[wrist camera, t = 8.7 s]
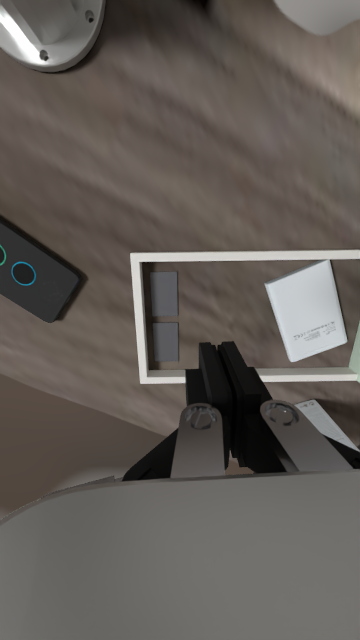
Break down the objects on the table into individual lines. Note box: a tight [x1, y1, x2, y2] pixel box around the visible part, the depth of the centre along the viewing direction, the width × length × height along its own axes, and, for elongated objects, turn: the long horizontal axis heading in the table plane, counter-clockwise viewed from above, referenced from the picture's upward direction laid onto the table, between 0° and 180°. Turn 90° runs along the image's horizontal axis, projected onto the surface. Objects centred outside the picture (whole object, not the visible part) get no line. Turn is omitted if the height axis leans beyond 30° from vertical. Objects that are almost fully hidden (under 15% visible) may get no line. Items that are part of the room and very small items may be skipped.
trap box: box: [130, 249, 360, 384], centre depth 32 cm, size 18×33×4 cm, turn 91°
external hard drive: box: [265, 259, 347, 362], centre depth 33 cm, size 2×8×12 cm
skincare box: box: [294, 399, 360, 452], centre depth 33 cm, size 6×4×12 cm
